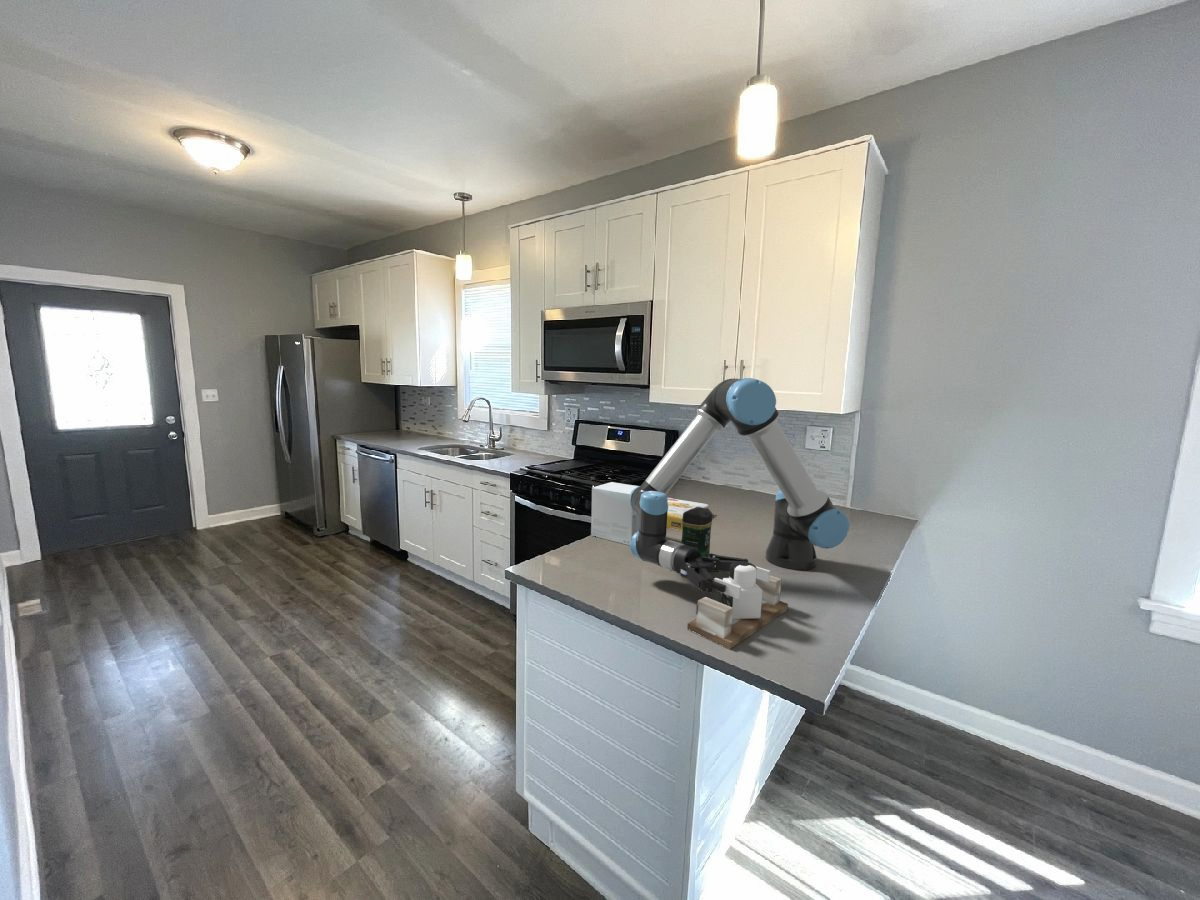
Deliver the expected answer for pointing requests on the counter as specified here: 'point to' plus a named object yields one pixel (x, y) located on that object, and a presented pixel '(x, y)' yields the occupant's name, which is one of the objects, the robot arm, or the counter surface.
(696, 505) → the cereal box
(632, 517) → the supplement box
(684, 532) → the coffee jar
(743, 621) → the rail board
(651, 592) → the counter surface
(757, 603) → the medicine bottle
